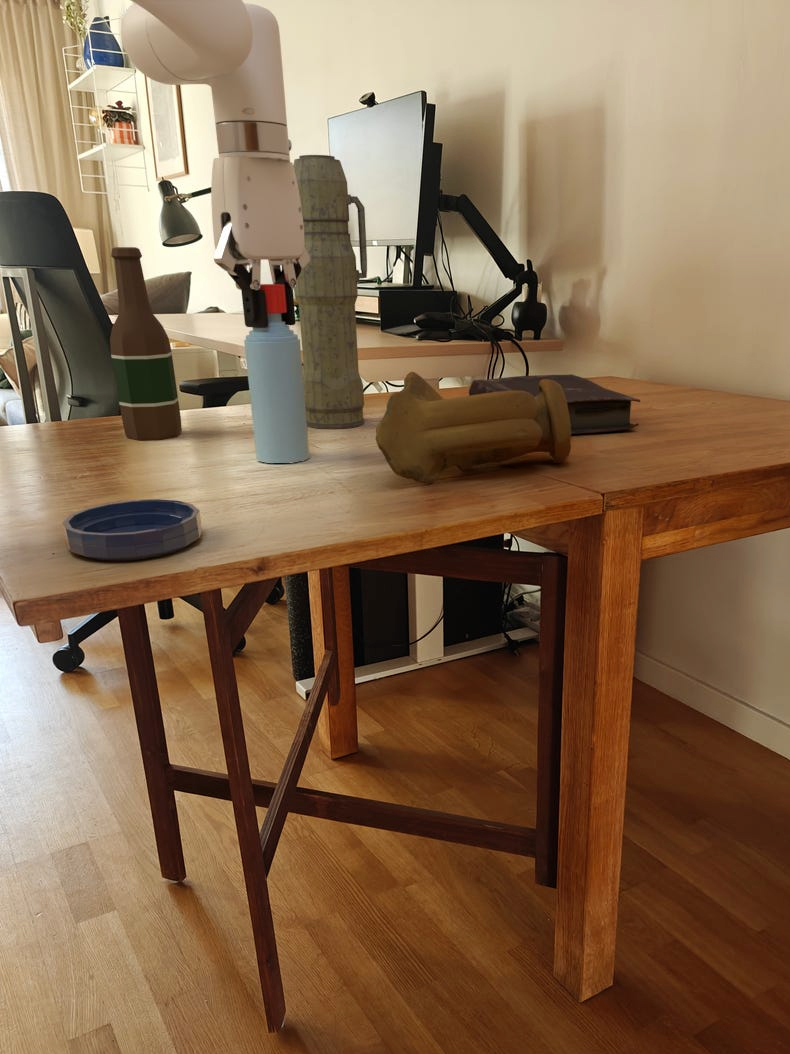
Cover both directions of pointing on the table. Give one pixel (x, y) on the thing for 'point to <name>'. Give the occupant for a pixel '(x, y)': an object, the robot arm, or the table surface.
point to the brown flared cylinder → (470, 428)
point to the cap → (275, 298)
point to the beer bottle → (142, 357)
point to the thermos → (329, 295)
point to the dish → (132, 529)
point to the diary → (572, 400)
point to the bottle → (277, 392)
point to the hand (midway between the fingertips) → (270, 324)
